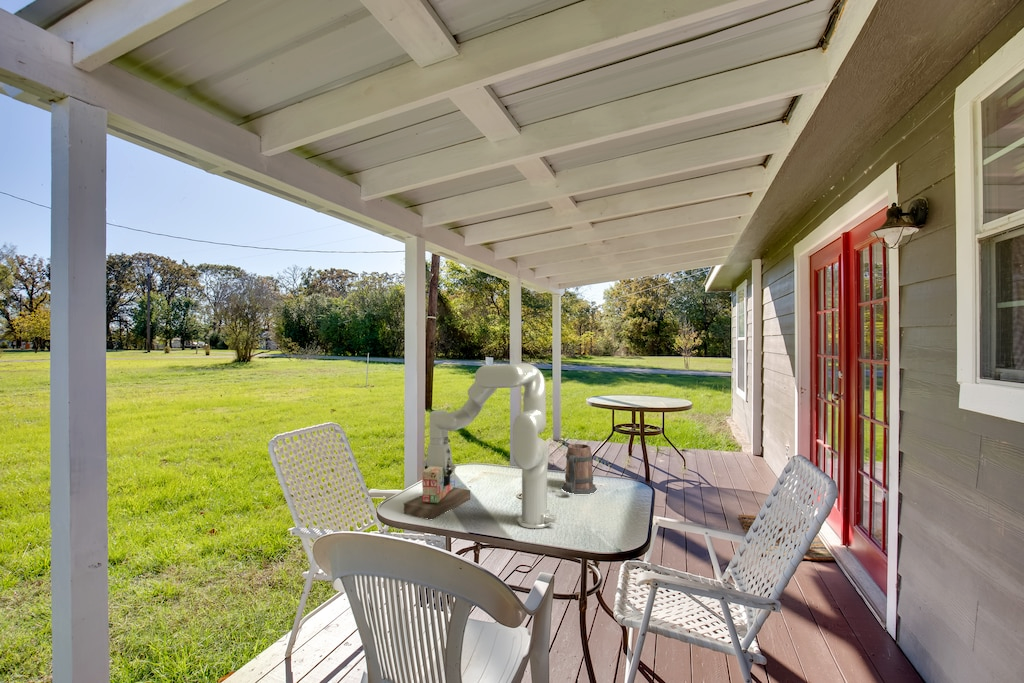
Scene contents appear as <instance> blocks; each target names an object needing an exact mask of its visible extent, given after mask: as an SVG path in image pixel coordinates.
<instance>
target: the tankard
mask: <svg viewBox="0 0 1024 683" xmlns="http://www.w3.org/2000/svg"><path fill="white" fill-rule="evenodd" d="M567 446H568V447H567V451H566V454H565V458H566V466H565V467H566V468H565V476H564V479H565V482H564V483H563V485H562V486H561V487H562V489H563V490H564V491H566V492H569V493H574V494H590V493H594V492H595V491H596V490H597V489H598V488H597V487H596V485H595V484H594V474H593V454H592V449H591V446H590V445H588V444H584V443H575V444H574V443H573V444H571V443H570V444H568V445H567ZM594 494H595V493H594Z"/></svg>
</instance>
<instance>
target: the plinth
mask: <svg viewBox="0 0 1024 683" xmlns="http://www.w3.org/2000/svg"><path fill="white" fill-rule="evenodd" d="M468 500H469V501H470V500H471V490H470V489H464V488H459V487H456V486H455V487H454V488H453V489H452V490H450V491H449V492H448V493H447V494H446V495H445V496H444V497H443V498H442V499H441V500H440V501H439V502H438V503H430V502H423V494H421V495H419V496H417V497H415V498H413V499H411V500H408V501H406V502H404V503H403V514H405V515H408V516H409V515H410V516H413V517H417V516H418V518H421V517H423V518H422V519H425V518H428V519H427V520H429V519H433V520H435V519H437V518H438V516H439V517H440V516H442V515H444V514H446V513H448V512H450V511H452V510H453V508H454V509H455V508H457V507H459V506H461V505H463V504H465V503H467V502H468ZM466 501H467V502H466ZM451 509H452V510H451ZM449 510H450V511H449ZM447 511H448V512H447ZM445 512H446V513H445ZM436 517H437V518H436ZM434 518H435V519H434Z"/></svg>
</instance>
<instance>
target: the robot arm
mask: <svg viewBox="0 0 1024 683" xmlns="http://www.w3.org/2000/svg"><path fill="white" fill-rule="evenodd" d="M522 386H523V387H524V392H523V396H522V402H523V403H522V404H523V405H522V412H521V413H519V414H517V416H516V417H515V418H514V420H513V423H512V459H513V462H514V463H515V465H516V466H517V467H518V468H520V469H521V515H519V516H518V517H517V523H518V524H519V526H521V527H524V528H527V529H534V528H535V529H543V528H547V527H548V526H550V525H551V524H552V523H553V524H557V520H558V519H557V515H554V514H551V512H550V509H548V467H549V465H548V464H549V459H550V458H549V456H550V448H549V446H548V443H547V441H546V440H544V439H543V438H541V437H539V434H541V433H542V432H544V430H546V425H547V404H546V402H547V398H546V393H547V391H546V380H545V377H544V375H543V373H542V371H541V370H540V369H538V367H537V366H535V365H533V364H530V363H525V362H520V363H511V364H499V365H498V364H489V365H482V366H480V367H479V368H478V369H477V370H476V371H475V373H474V382H473V383H472V384H471V385H470V386H469V388H468V389H467V391H466V392H467V396H468V399H467V401H466V402H465V403H464V404H463V405H462V406H461V407H460V408H459V409H457V410H453V411H450V412H448V411H446V410H441V409H439V410H438V409H437V410H432V411H431V412H430V413H429V443H428V445H427V452H426V458H425V460H424V461H422V465H423V467H424V470H425V469H427V468H428V467H429V466H431V465H432V466H437V467H443V470H444V474H445V476H444V486H447V485H449V484H450V475H451V474H452V472H453V471H454V470H455V471H456V469H457V466H456V465H455V464H454V463H453V456H452V449H451V445H450V442H451V439H449V432H455V431H457V430H461V429H463V428H466V427H467V426H469V425H470V424H471V423H472V422H473V421H474V420H475V419H476V418H477V417H478V415H479V414H480V412H481V411H482V410H483V408H484V404H485V403H486V402H487V401H488V400H489V398H490V397H491V396H492V395H493V394H494V393H495V391H497V390H498V389H508V388H509V389H511V388H512V389H513V388H514V389H515V388H517V387H522ZM449 468H451V469H449ZM446 470H447V471H446Z"/></svg>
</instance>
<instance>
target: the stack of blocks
mask: <svg viewBox="0 0 1024 683" xmlns="http://www.w3.org/2000/svg"><path fill="white" fill-rule="evenodd" d="M449 469H451V468H449ZM446 471H447V470H446ZM444 476H445V474H444V470H443V467H437V466H432V465H431V466H429V467H428V468H427V469H425V468H424V470H422V480H421V481H422V482H421V485H422V495H423V502H430V503H438V502H439V501H440V500H441V499H442V498H443V497H444V496H445V495H446V494H447V493H448V492H449V491H450V490H452V489H453V488H454V487H455V488H456V469H455V470H454V471H453V472H452V474H451V475H450V484H449V485H447V486H444Z"/></svg>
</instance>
